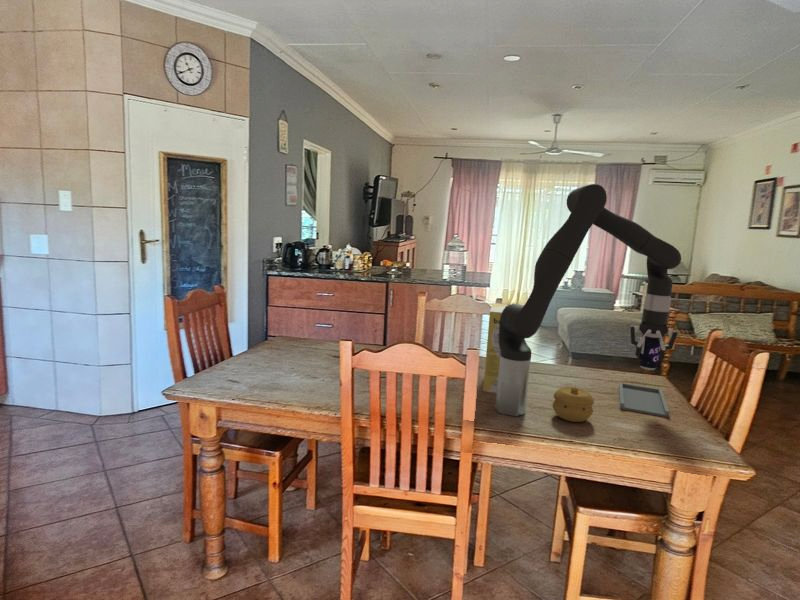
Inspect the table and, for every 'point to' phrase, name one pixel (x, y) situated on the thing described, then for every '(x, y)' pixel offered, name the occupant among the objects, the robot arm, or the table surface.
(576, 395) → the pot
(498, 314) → the pasta box
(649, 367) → the beverage can
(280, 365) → the table surface
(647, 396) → the gray tray
